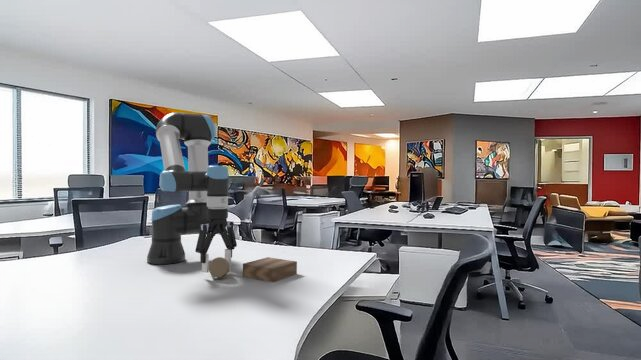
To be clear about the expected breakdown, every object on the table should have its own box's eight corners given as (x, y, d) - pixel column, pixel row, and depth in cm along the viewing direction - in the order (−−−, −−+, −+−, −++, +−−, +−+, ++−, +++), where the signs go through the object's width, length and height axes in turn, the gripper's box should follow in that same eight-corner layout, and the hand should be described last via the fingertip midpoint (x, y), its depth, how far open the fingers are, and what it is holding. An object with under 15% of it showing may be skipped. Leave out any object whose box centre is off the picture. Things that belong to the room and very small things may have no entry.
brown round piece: (233, 271, 147) (237, 252, 142) (222, 289, 139) (226, 270, 134) (215, 264, 147) (218, 245, 142) (203, 282, 139) (205, 263, 134)
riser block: (242, 277, 142) (242, 263, 142) (267, 269, 153) (268, 257, 153) (272, 283, 134) (272, 268, 134) (296, 274, 146) (296, 261, 146)
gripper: (198, 210, 131) (197, 276, 131) (247, 206, 149) (246, 265, 149) (184, 209, 135) (184, 273, 135) (233, 206, 154) (233, 262, 154)
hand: (216, 269), depth 142 cm, fingers closed on brown round piece, 10 cm apart
